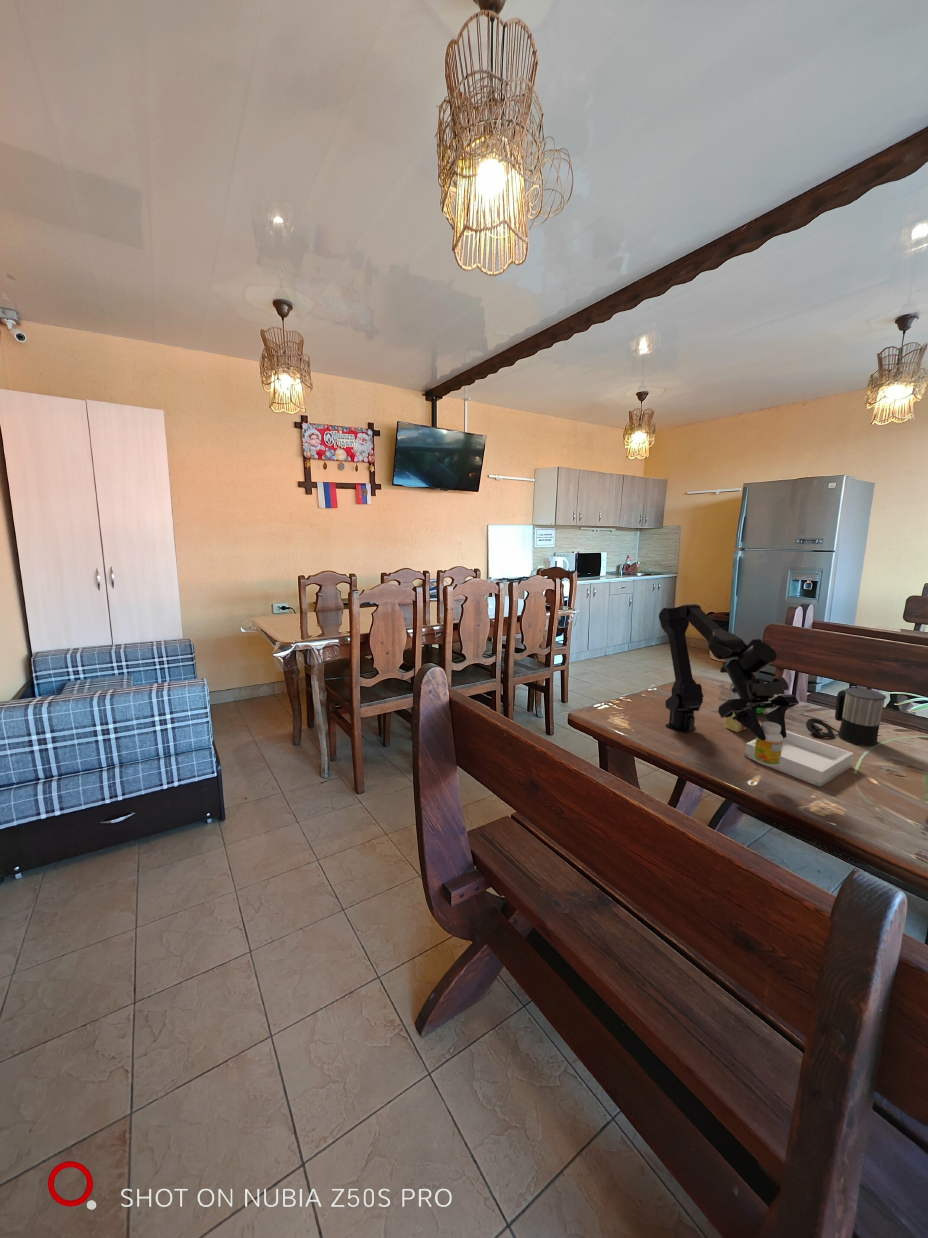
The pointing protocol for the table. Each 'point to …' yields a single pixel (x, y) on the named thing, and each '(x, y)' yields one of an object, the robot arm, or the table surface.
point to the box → (808, 759)
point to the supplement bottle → (769, 745)
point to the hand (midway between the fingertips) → (774, 739)
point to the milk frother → (854, 716)
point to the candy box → (730, 722)
